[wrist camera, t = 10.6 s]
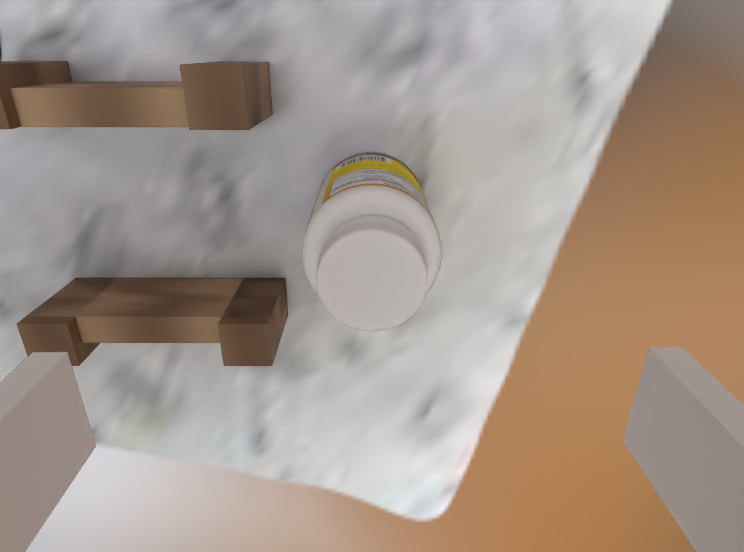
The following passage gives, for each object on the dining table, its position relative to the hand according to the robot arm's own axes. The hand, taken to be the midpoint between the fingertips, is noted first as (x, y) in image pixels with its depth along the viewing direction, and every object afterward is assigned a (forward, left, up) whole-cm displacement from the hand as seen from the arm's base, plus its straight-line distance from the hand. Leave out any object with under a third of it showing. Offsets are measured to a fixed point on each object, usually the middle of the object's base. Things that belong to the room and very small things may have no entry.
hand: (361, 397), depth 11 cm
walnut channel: (-11, 0, -16) cm, 20 cm away
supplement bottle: (0, 0, -17) cm, 17 cm away
